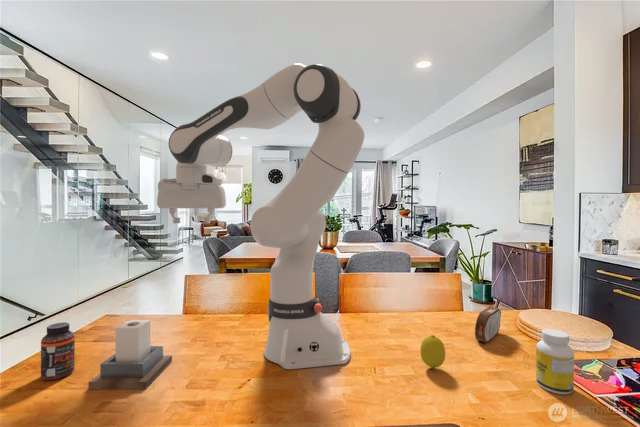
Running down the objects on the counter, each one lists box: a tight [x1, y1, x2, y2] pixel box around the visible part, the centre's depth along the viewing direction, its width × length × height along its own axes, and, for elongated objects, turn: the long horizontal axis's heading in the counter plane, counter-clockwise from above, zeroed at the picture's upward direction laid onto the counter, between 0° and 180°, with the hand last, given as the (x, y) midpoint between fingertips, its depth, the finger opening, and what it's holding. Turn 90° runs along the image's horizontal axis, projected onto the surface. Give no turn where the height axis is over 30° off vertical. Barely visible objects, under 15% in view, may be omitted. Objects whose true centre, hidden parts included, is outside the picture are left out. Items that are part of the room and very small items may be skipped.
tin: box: [474, 305, 502, 343], centre depth 94 cm, size 15×3×8 cm, turn 135°
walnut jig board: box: [87, 355, 173, 390], centre depth 73 cm, size 12×12×2 cm
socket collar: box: [99, 345, 164, 378], centre depth 73 cm, size 9×9×3 cm
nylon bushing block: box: [114, 319, 151, 362], centre depth 73 cm, size 5×5×10 cm
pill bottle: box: [535, 328, 575, 395], centre depth 68 cm, size 6×6×12 cm
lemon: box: [419, 334, 446, 370], centre depth 76 cm, size 6×6×8 cm
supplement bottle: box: [40, 321, 76, 381], centre depth 73 cm, size 6×6×11 cm
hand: (192, 223), depth 100 cm, fingers open, 8 cm apart
